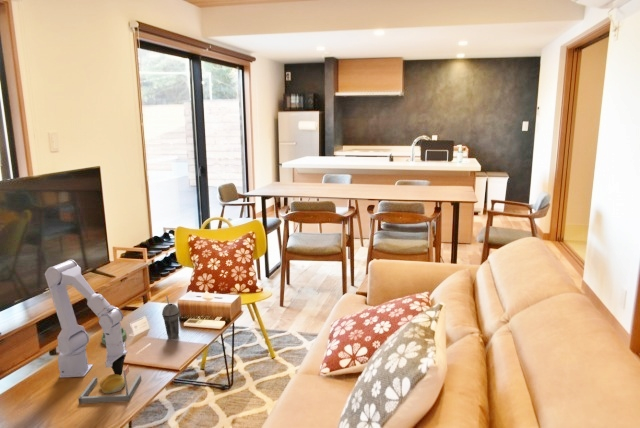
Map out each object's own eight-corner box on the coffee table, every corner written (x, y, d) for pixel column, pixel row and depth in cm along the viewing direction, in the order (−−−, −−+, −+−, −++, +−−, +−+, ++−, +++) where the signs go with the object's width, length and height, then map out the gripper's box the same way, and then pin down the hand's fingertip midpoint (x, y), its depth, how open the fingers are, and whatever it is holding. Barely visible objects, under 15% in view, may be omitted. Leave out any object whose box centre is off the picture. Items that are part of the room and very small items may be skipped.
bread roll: (104, 397, 167) (103, 387, 166) (98, 386, 174) (97, 376, 173) (129, 388, 172) (127, 378, 171) (122, 377, 179) (120, 368, 178)
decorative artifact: (131, 338, 210) (118, 332, 215) (129, 323, 208) (116, 318, 214) (110, 347, 202) (97, 341, 207) (108, 332, 200) (95, 327, 206)
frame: (79, 403, 163) (74, 373, 161) (94, 382, 176) (90, 353, 173) (129, 401, 164) (125, 370, 161) (141, 379, 177) (137, 351, 174)
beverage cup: (185, 335, 210) (181, 293, 206) (172, 342, 204) (167, 299, 200) (174, 332, 214) (169, 290, 209) (161, 338, 208) (156, 296, 203)
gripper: (118, 350, 167) (122, 385, 170) (131, 331, 181) (136, 363, 184) (97, 351, 167) (102, 386, 170) (113, 332, 181) (117, 364, 184)
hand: (118, 374), depth 177 cm, fingers closed
